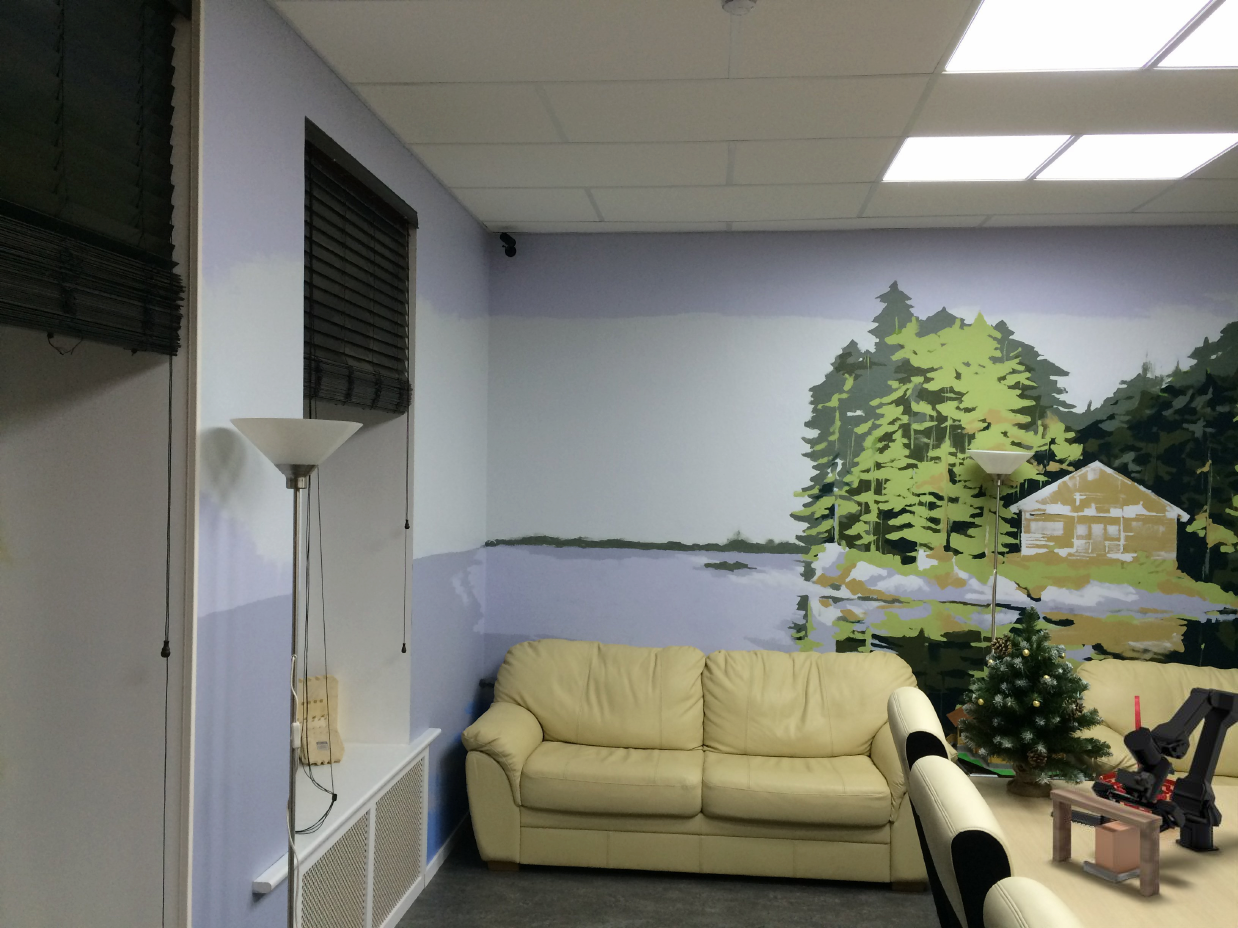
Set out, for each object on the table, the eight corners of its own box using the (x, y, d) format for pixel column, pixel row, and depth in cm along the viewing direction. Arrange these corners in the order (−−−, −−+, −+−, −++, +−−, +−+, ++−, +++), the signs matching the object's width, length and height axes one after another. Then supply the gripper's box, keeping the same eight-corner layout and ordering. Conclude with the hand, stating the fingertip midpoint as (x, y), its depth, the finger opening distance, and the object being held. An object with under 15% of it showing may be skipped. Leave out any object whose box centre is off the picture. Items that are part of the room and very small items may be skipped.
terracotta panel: (1127, 862, 203) (1127, 817, 203) (1144, 868, 199) (1144, 823, 199) (1095, 871, 197) (1095, 826, 197) (1112, 878, 193) (1112, 832, 194)
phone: (1058, 806, 237) (1121, 820, 227) (1058, 810, 237) (1121, 825, 227) (1049, 813, 231) (1113, 828, 221) (1049, 817, 231) (1113, 833, 221)
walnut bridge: (1087, 848, 210) (1087, 782, 210) (1182, 884, 191) (1182, 811, 191) (1049, 859, 203) (1050, 790, 203) (1144, 897, 184) (1144, 822, 185)
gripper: (1096, 744, 210) (1066, 798, 204) (1178, 766, 193) (1148, 826, 188) (1116, 774, 213) (1087, 828, 208) (1198, 797, 197) (1169, 857, 191)
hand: (1121, 833), depth 198 cm, fingers open, 9 cm apart
